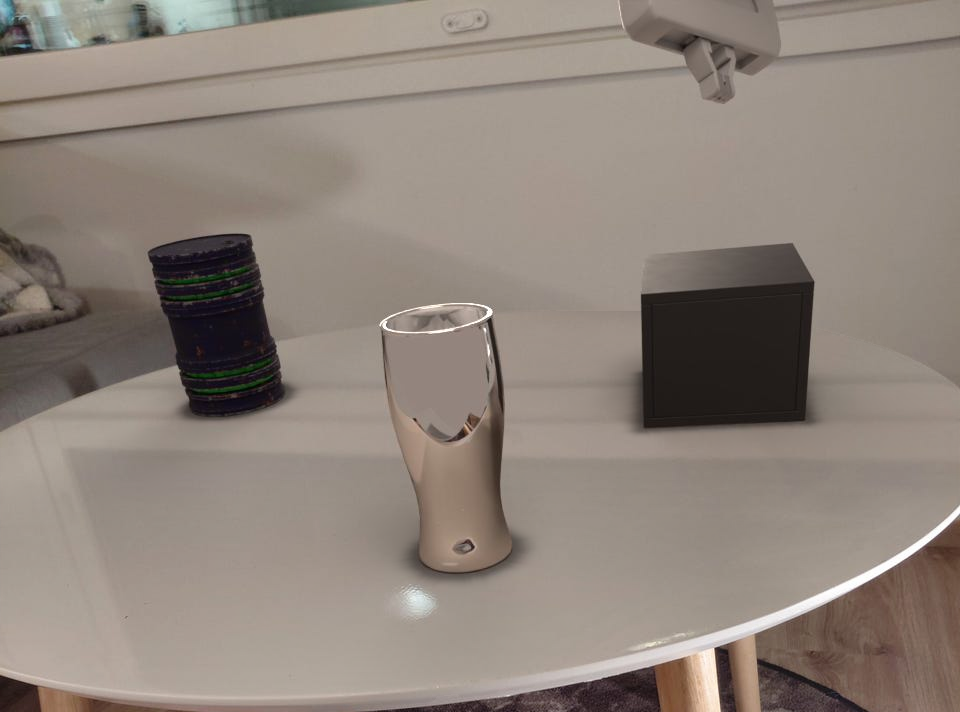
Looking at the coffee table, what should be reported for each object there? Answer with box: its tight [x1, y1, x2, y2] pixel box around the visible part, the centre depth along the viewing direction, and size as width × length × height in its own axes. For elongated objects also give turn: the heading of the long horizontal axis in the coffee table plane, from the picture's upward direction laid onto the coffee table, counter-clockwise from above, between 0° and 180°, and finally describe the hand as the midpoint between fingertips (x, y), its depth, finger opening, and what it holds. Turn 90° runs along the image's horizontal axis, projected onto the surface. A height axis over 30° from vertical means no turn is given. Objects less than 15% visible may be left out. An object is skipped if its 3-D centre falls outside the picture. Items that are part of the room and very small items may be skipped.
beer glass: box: [379, 302, 513, 574], centre depth 60 cm, size 7×7×15 cm
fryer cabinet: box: [640, 242, 816, 429], centre depth 81 cm, size 15×13×11 cm
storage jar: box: [146, 232, 286, 418], centre depth 95 cm, size 10×10×15 cm
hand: (719, 98), depth 92 cm, fingers closed
